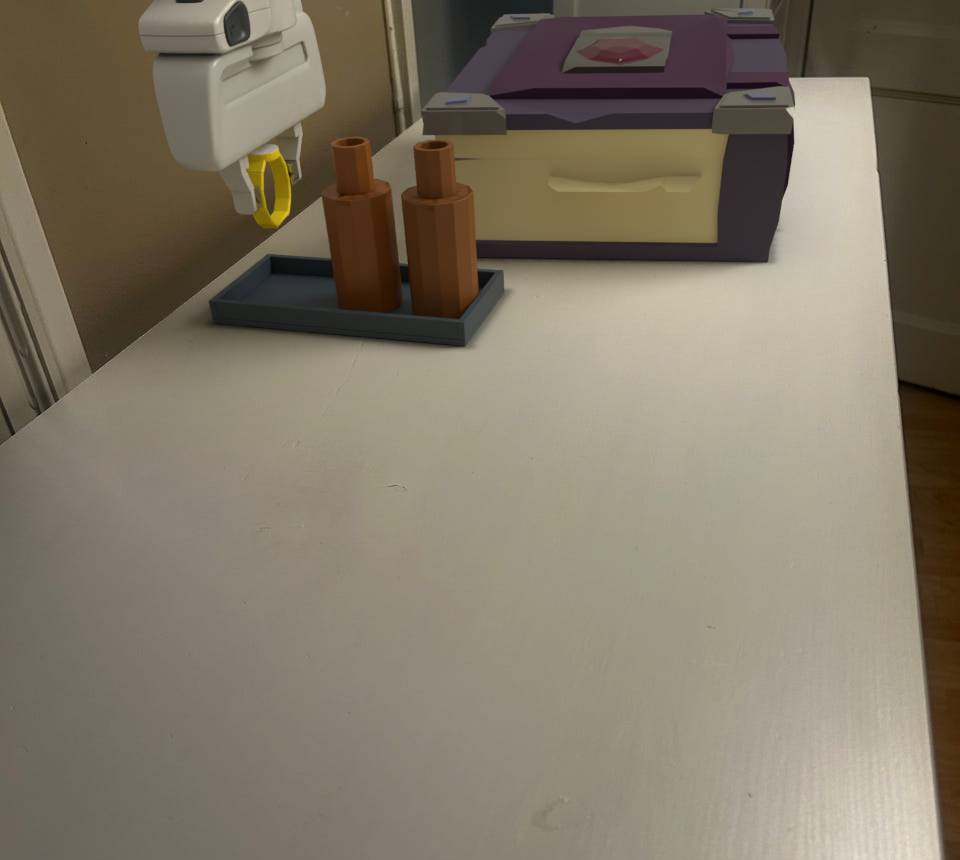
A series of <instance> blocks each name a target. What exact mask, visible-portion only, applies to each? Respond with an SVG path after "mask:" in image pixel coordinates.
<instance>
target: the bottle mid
mask: <svg viewBox="0 0 960 860" xmlns="http://www.w3.org/2000/svg"><path fill="white" fill-rule="evenodd" d="M329 145H330V151H331V159H332V166H333V173H334V180H335V182H331V183H329V184H327V185H326V186H325V187H323V188H321V190H320V195H321V201H322V208H323V213H324V220H325V222H324V223H325V227H326V234H327V240H328V248H329V254H330V258H331V262H332V268H333V275H334V282H335V288H336V295H337V302H338V306H339V309H342V310H354V311H366V312H378V313H387V312H390V311H392V310H395V309H397V308H398V307H399V306H400V305H401V304H402V302H403V295H402V285H401V276H400V266H399V263H400V258H399V250H398V238H397V228H396V219H395V209H394V200H393V192H392V191H393V190H392V186H391V184H390V182H389V181H386V180H382V179H379V178H375V175H374V167H373V166H374V165H373V158H372V157H373V155H372V148H371V141H370V139H369V138H367V137H362V136H346V137H342V138H337V139H335V140H333V141H332V142H330V144H329Z"/></svg>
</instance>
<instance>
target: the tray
mask: <svg viewBox="0 0 960 860" xmlns="http://www.w3.org/2000/svg"><path fill="white" fill-rule="evenodd" d="M399 266H400V276H401V285H402V295H403V302H402V304H401V305H400V306H399V307H398V308H397V309H395V310H392V311H390V312H387V313H378V312H366V311H354V310H342V309H339V306H338V302H337V295H336V288H335V282H334V275H333V268H332V262H331V257H318V256H304V255H303V256H302V255H289V254H277V253H276V254H273V253H266V254H265V255H264V256H263V257H262V258H260V259H259V260H258V261H256V262H255V263H253V265H252V266H250V267H249V268H248V269H247V270H245V271H243V273H242V274H240V275H239V276H238V277H237V278H235V280H233V281H231V282H230V283H229V284H228V285H227V286H225V287H224V288H223V289H221V290H220V291H219V292H218V293H216V294H215V295H214V296H213V297H211V299H209V300H208V304H209V308H210V314H211V317H212V321H213V324H220V325H229V326H231V325H232V326H239V327H240V326H241V327H250V328H251V327H252V328H263V329H274V330H284V331H285V330H286V331H296V332H307V333H319V334H329V335H339V336H340V335H341V336H350V337H360V338H361V337H362V338H372V339H383V340H385V339H386V340H395V341H405V342H417V343H418V342H419V343H427V344H437V345H450V346H461V347H466V346H467V345H468V343H469V341H471V339H472V338H473V336H474V335H475V334H476V332H477V331H478V329H479V328H480V327H481V326H482V325H483V323H484V321H485V320H486V319H487V317H488V316H489V314H490V313H491V312H492V310H493V309H494V307H495V306H496V304H497V303H498V302H499V300H500V299H501V298H502V296H503V295H504V293H505V270H503V269H494V268H493V269H492V268H478V267H477V273H478V292H479V294H478V296H477V297H476V298H475V300H474V301H473V302H472V304H471V305H470V306H469V307H468V309H467V310H466V311H465V313H464V314H463V315H462V317H461V318H460V319H450V318H438V317H426V316H415V315H414V313H413V310H412V302H411V292H410V282H409V272H408V262H407V263H406V262H405V263H404V262H399Z"/></svg>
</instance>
